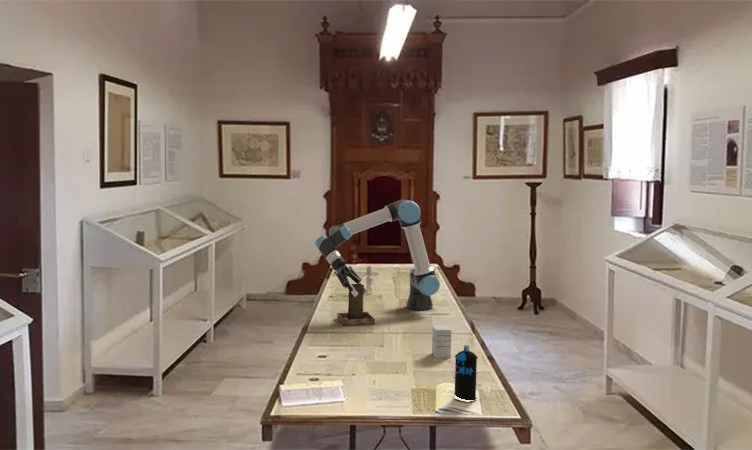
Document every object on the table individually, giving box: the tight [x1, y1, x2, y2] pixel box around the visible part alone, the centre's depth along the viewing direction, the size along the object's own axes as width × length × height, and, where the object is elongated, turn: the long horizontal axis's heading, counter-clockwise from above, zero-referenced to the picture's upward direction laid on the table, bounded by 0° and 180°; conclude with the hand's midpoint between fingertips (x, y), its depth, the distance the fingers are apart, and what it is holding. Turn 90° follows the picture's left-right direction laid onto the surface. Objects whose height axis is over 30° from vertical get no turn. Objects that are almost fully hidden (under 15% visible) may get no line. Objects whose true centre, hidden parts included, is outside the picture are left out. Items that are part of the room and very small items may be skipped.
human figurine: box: [361, 265, 379, 295], centre depth 452 cm, size 12×4×18 cm, turn 97°
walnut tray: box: [336, 311, 376, 327], centre depth 382 cm, size 17×17×3 cm
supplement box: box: [431, 325, 452, 359], centre depth 320 cm, size 7×7×13 cm
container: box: [347, 283, 365, 320], centre depth 381 cm, size 9×9×18 cm
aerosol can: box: [454, 344, 479, 401], centre depth 265 cm, size 8×8×20 cm
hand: (361, 293), depth 379 cm, fingers closed on container, 8 cm apart
